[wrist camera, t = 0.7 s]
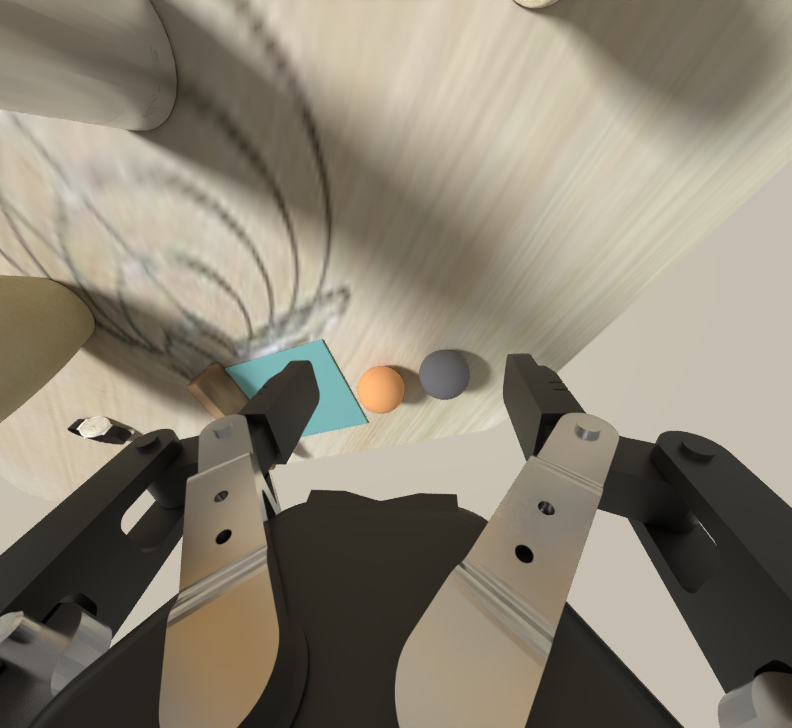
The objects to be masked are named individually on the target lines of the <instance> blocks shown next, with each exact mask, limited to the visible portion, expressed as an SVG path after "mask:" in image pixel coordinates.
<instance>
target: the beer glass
mask: <svg viewBox="0 0 792 728" xmlns="http://www.w3.org/2000/svg"><path fill="white" fill-rule="evenodd" d="M514 1H515V2H517V3H518V4H520V5H522V6H524V7H528V8H542V7H546V6H549V5H551V4H553V3H555V2H557V1H558V0H514Z"/></svg>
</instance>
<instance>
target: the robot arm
mask: <svg viewBox="0 0 792 728" xmlns="http://www.w3.org/2000/svg"><path fill="white" fill-rule="evenodd" d="M176 88H177V77H176V68H175V61H174V57H173V53H172V50H171V46H170V42H169V40H168V37H167V35H166V32H165V30H164V27H163V25H162V22H161V20H160V19H159V17H158V15H157V13H156V11H155V9H154V8H153V6H152V4H151V2H150V1H149V0H0V109H1V110H7V111H14V112H20V113H27V114H33V115H39V116H46V117H52V118H59V119H65V120H72V121H78V122H84V123H90V124H96V125H103V126H109V127H116V128H122V129H128V130H135V131H145V130H151V129H153V128H156V127H159V126H160V125H161V124H162V123H163V122H164V121H165V120H167V118H168V116H169V114H170V113H171V111H172V109H173V106H174V102H175V98H176ZM503 398H504V403H505V406H506V408H507V411H508V414H509V416H510V419H511V422H512V424H513V427H514V430H515V432H516V435H517V438H518V440H519V443H520V446H521V448H522V451H523V454H524V456H525V459H526V461H527V462H526V464H525V465H524V467H523V469H522V470H521V472H520V473H519V475H518V476H517V478H516V479H515V481H514V483H513V484H512V486H511V487H510V489H509V490H508V492H507V494H506V495H505V497H504V498H503V500H502V502H501V503H500V505H499V506H498V508H497V509H496V511H495V513H494V514H493V516H492V517H491V519H490V520H489V521H487V520H485V519H484V518H483V517H481V516H479V515H477V514H475V513H473V512H471V511H469V510H466V509H463V508H460V507H458V503H457V495H456V494H425V493H419V494H414V495H409V496H404V497H399V498H394V499H389V500H384V501H378V500H374V499H370V498H367V497H364V496H360V495H357V494H354V493H350V492H347V491H330V490H311V492H310V494H309V497H308V500H307V502H305V503H301V504H298V505H295V506H293V507H291V508H288V509H286V510H284V511H282V512H281V508H280V504H279V501H278V497H277V493H276V489H275V486H274V482H273V478H272V475H271V473H270V470H269V469H270V468H271V466H272V464H286V463H287V461H288V459H289V458H290V456H291V454H292V452H293V450H294V448H295V446H296V445H297V443H298V441H299V439H300V437H301V435H302V434H303V432H304V430H305V428H306V426H307V424H308V422H309V421H310V419H311V417H312V415H313V413H314V411H315V410H316V408H317V406H318V404H319V399H320V392H319V388H318V384H317V380H316V377H315V373H314V369H313V366H312V363H311V362H310V361H309V360H293V361H290V362H289V363H288V364H287V365H286V366H285V368H284V369H283V370H282V371H281V372H279V373H277V374H276V375H274V376H273V377H271V378H270V379H268V380H267V382H266V383H265V384H264V385H263V386H262V388H260V389H259V390H258V392H257V393H256V395H254V396H253V397H252V398H251V399H250V400H249V402H248V403H247V404H246V405H245V406H244V407H243V408H242V409H241V411H240V412H239V413H238V414H237V415H228V416H225V417H222V418H219V419H217V420H215V421H213V422H212V423H210V424H209V425H207V426H206V427H205V428H204V429H203V430H202V432H201V433H200V435H199V436H195V437H191V438H186V439H182V440H179V439H178V437H177V435H176V434H175V432H174V431H173V430H171V429H160V430H156V431H153V432H150V433H147V434H145V435H143V436H141V437H139V438H137V439H136V440H134V441H133V442H131V443H130V444H129V445H128V446H126V447H125V448H124V449H123V450H122V451H121V452H120V453H118V454H117V455H116V456H115V457H114V458H113V459H111V460H110V461H109V462H108V463H107V464H106V465H104V466H103V467H102V468H101V469H100V470H99V471H98V472H96V473H95V474H94V475H93V476H92V477H91V478H89V479H88V480H87V481H86V482H85V483H84V484H82V485H81V486H80V487H79V488H78V489H77V490H76V491H74V492H73V493H72V494H71V495H70V496H69V497H67V498H66V499H65V500H64V501H63V502H62V503H60V504H59V505H58V506H57V507H56V508H55V509H54V510H52V511H51V512H50V513H49V514H48V515H47V516H45V518H43V519H42V520H41V521H40V522H39V523H37V524H36V525H35V526H34V527H33V528H32V529H30V530H29V531H28V532H27V533H26V534H25V535H23V536H22V537H21V538H20V539H19V540H18V541H17V542H15V543H14V544H13V545H12V546H11V547H10V548H8V549H7V550H6V551H5V552H4V553H3V554H2V555H0V728H684V727H683V726H682V725H681V724H680V723H679V722H678V721H677V719H676V718H675V717H674V716H673V715H672V714H671V713H670V712H669V711H668V710H667V709H666V708H665V707H664V705H662V703H661V702H660V701H659V700H658V699H657V698H656V697H655V696H654V695H653V694H652V693H651V692H650V691H649V689H648V688H647V687H646V686H645V685H644V684H643V683H642V682H641V681H640V680H639V679H638V678H637V677H636V676H635V674H634V673H633V672H632V671H631V670H630V669H629V668H628V667H627V666H626V665H625V664H624V663H623V661H622V660H621V659H620V658H619V657H618V656H617V655H616V654H615V653H614V652H613V651H612V650H611V649H610V648H609V646H608V645H607V644H606V643H605V642H604V641H603V640H602V639H601V638H600V637H599V636H598V635H597V634H596V632H595V631H594V630H593V629H592V628H591V627H590V626H589V625H588V624H587V623H586V622H585V621H584V620H583V619H582V617H581V616H579V614H578V613H577V612H576V611H575V610H574V609H573V608H572V607H571V606H570V605H569V604H568V602H566V599H567V596H568V593H569V590H570V587H571V584H572V581H573V578H574V575H575V572H576V569H577V566H578V563H579V560H580V558H581V555H582V552H583V549H584V545H585V543H586V540H587V537H588V533H589V531H590V528H591V525H592V522H593V519H594V516H595V513H596V510H597V509H600V510H603V511H606V512H610V513H613V514H616V515H620V516H623V517H626V518H628V520H629V522H630V523H631V525H632V527H633V529H634V531H635V532H636V534H637V536H638V538H639V539H640V541H641V543H642V545H643V547H644V548H645V550H646V552H647V554H648V556H649V557H650V559H651V561H652V563H653V565H654V566H655V568H656V570H657V572H658V573H659V575H660V577H661V579H662V580H663V582H664V584H665V586H666V588H667V590H668V591H669V593H670V595H671V597H672V598H673V600H674V602H675V604H676V606H677V607H678V609H679V611H680V613H681V615H682V616H683V618H684V620H685V621H686V623H687V625H688V627H689V629H690V631H691V632H692V634H693V636H694V638H695V640H696V641H697V643H698V645H699V647H700V648H701V650H702V652H703V654H704V656H705V657H706V659H707V661H708V663H709V664H710V666H711V668H712V670H713V672H714V673H715V675H716V677H717V679H718V681H719V682H720V684H721V686H722V688H723V690H724V691H725V693H726V695H724V696H723V697H722V699H721V700H720V703H719V705H718V719H719V725H720V728H792V508H791V507H790V506H789V505H788V504H787V503H786V502H784V501H783V500H782V499H781V498H780V497H779V496H778V495H777V494H776V493H774V492H773V491H772V490H771V489H770V488H769V487H768V486H767V485H766V484H764V483H763V482H762V481H761V480H760V479H759V478H758V477H757V476H756V475H754V474H753V473H752V472H751V471H750V470H749V469H748V468H747V467H746V466H745V465H743V464H742V463H741V462H740V461H739V460H738V459H737V458H735V457H734V456H733V455H732V454H731V453H730V452H729V451H728V450H726V449H725V448H723V447H722V446H720V445H718V444H717V443H715V442H713V441H711V440H709V439H707V438H704V437H702V436H699V435H695V434H692V433H688V432H682V431H667V432H664V433H662V434H660V436H659V437H658V439H657V441H656V443H655V444H654V443H650V442H645V441H640V440H635V439H630V438H626V437H622V436H619V434H618V432H617V431H616V429H615V428H614V427H613V426H612V425H611V424H609V423H608V422H606V421H605V420H603V419H600V418H598V417H596V416H593V415H590V414H586V412H585V411H584V410H583V409H582V407H581V406H580V404H579V403H578V402H577V400H576V399H575V398H574V396H573V395H572V394H571V392H570V391H568V388H567V387H566V386H565V384H564V383H562V380H561V379H560V378H559V376H558V375H557V373H555V372H554V371H552V370H551V369H549V368H548V367H546V366H538V365H537V364H536V362H535V361H534V359H533V358H532V356H531V355H530V354H529V353H528V354H508V356H507V360H506V368H505V376H504V385H503ZM146 489H147V490H148V491H149V492H150V494H152V496H153V497H154V499H155V500H156V501H155V502H154V503H153V505H152V506H151V507H150V508H149V509H148V510H147V512H146V513H145V514H144V515H143V516H142V517H141V519H140V520H139V521H138V522H137V523H136V525H135V526H134V527H133V528H132V529H131V531H130V532H129V533H128V534H127V535H126V534H125V533H124V532H123V531H122V529H121V520H122V517H123V515H124V514H125V512H126V511H127V509H128V508H129V507H130V506H131V505H132V504H133V503H134V502H135V501H136V500H137V499H138V497H139V496H140V495H141V494H142V493H143V492H144V491H145V490H146ZM699 522H700V523H701V524H702V525H703V527H704V528H705V529H706V531H707V532H708V533H709V534H710V536H711V537H712V538H713V540H714V541H715V543H716V544H715V543H714V541H713V540H712V539H711V538H710V537H709V535H708V534H707V532H706V531H705V530H704V529H703V527H702V526H701V525H700V523H699ZM182 536H183V543H182V557H181V572H180V586H179V593H178V594H176V595H175V596H174V597H173V598H172V599H170V600H169V601H168V602H167V603H165V604H164V605H163V606H162V607H161V608H159V609H158V610H157V611H156V612H154V613H153V614H152V615H151V616H149V617H148V618H147V619H146V620H144V621H143V622H142V623H141V624H140V625H138V626H137V627H136V628H134V629H133V630H132V631H131V632H130V633H128V634H127V635H126V636H125V637H123V638H122V639H121V640H120V641H119V642H117V643H116V644H115V645H114V646H112V647H111V648H110V649H109V647H110V644H111V640H112V639H113V637H114V636H115V634H116V633H117V631H118V630H119V628H120V627H121V625H122V624H123V623H124V621H125V620H126V618H127V616H128V615H129V614H130V612H131V611H132V609H133V608H134V606H135V605H136V603H137V602H138V600H139V599H140V598H141V596H142V594H143V593H144V592H145V590H146V589H147V587H148V586H149V584H150V583H151V581H152V580H153V578H154V577H155V575H156V574H157V572H158V571H159V570H160V568H161V566H162V565H163V564H164V562H165V561H166V559H167V558H168V556H169V555H170V553H171V552H172V550H173V549H174V547H175V546H176V545H177V543H178V541H179V540H180V539H181V537H182Z"/></svg>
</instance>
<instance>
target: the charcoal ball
mask: <svg viewBox="0 0 792 728" xmlns="http://www.w3.org/2000/svg"><path fill="white" fill-rule="evenodd" d="M469 377H470V373H469V368H468V365H467V363H466V361H465V360H464V359H463V358H462V357H461V356H460V355H459V354H457V353H455V352H453V351H450V350H439V351H435V352H433V353H431V354H430V355H428V356H427V357H426V358H425V359H424V361H423V362H422V364H421V367H420V370H419V379H420V383H421V385H422V387H423V389H424V390H425V391H426V392H427V393H428V394H429V395H430V396H432V397H434V398H437V399H441V400H448V399H452V398H455V397H457V396H459V395H460V394H461V393H462V392H463V391H464V390H465V389H466V387H467V385H468V382H469Z"/></svg>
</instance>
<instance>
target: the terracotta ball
mask: <svg viewBox="0 0 792 728" xmlns="http://www.w3.org/2000/svg"><path fill="white" fill-rule="evenodd" d="M404 391H405V389H404V383H403V380H402V378H401V377H400V375H399V374H398V373H397V372H396V371H395V370H393V369H391V368H389V367H384V366H378V367H373V368H371V369H369V370H367V371H366V372H365V373H364V374H363V375H362V377H361V378H360V380H359V383H358V387H357V393H358V397H359V400H360V402H361V403H362V405H363V406H364V407H365V408H366V409H368V410H369V411H371V412H374V413H379V414H382V413H388V412H391V411H392V410H394V409H395V408H397V407H398V406H399V404H400V403H401V401H402V399H403V397H404Z"/></svg>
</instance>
